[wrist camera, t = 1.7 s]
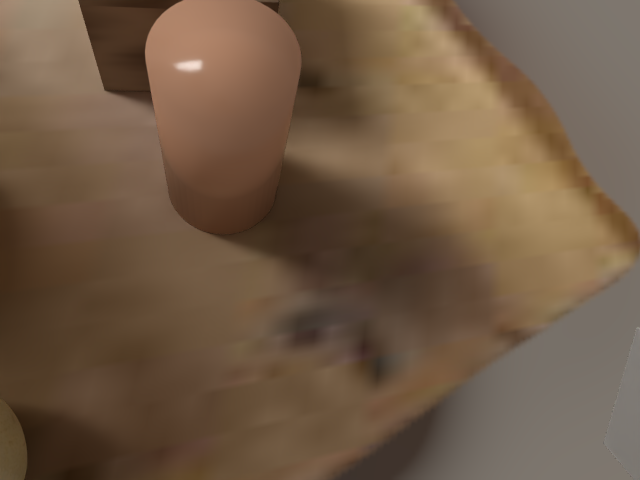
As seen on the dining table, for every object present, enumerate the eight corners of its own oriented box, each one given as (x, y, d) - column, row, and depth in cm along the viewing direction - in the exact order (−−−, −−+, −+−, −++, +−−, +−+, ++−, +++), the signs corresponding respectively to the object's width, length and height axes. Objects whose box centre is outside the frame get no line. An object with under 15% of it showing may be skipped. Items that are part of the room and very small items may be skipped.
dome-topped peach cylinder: (167, 235, 35) (143, 119, 24) (168, 137, 37) (146, -11, 26) (280, 233, 36) (307, 121, 25) (273, 138, 38) (296, -4, 27)
